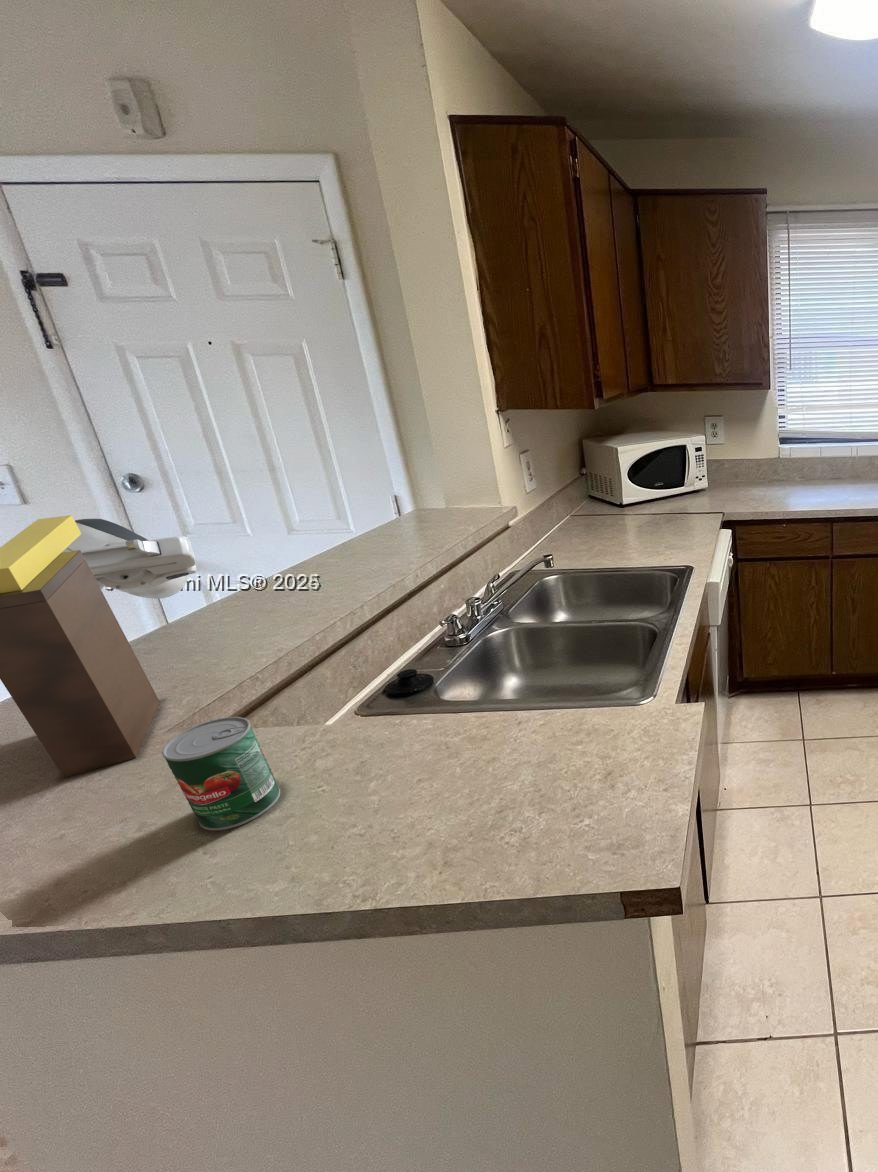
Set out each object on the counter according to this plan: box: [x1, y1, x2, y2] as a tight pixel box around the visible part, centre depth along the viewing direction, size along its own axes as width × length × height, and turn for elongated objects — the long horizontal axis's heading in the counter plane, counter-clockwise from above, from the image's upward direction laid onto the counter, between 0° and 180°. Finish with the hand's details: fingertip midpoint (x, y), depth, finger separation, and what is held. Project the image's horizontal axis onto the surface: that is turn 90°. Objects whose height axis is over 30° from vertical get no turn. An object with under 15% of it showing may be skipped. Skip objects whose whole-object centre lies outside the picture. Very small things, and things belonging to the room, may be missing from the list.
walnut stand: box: [0, 550, 160, 778], centre depth 84 cm, size 7×16×26 cm, turn 35°
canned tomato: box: [161, 716, 281, 832], centre depth 75 cm, size 8×8×11 cm
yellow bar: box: [0, 514, 81, 594], centre depth 81 cm, size 4×24×3 cm, turn 35°
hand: (91, 550), depth 98 cm, fingers open, 8 cm apart
